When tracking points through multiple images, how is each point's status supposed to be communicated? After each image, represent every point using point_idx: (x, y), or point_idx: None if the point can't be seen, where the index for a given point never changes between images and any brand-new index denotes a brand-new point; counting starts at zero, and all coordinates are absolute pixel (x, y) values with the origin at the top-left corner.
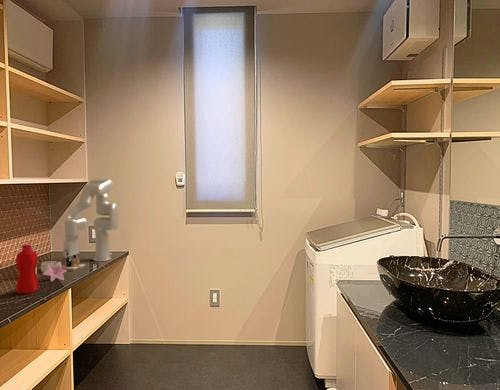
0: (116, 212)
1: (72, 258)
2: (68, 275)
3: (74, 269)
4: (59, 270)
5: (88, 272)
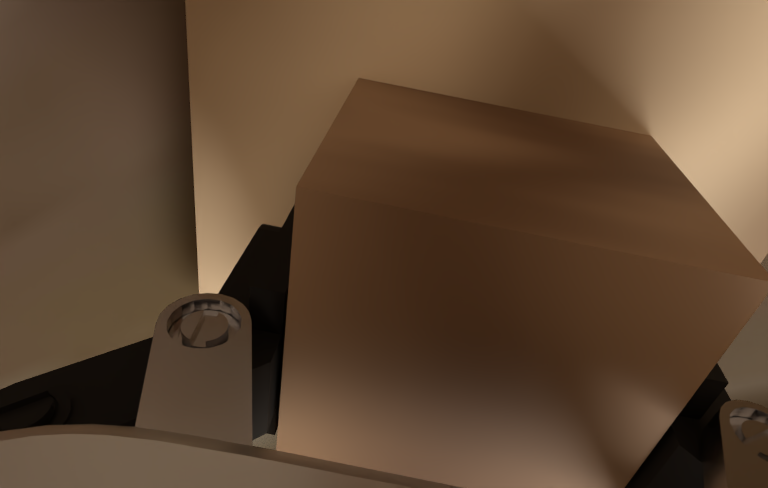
0: None
1: (554, 421)
2: (42, 302)
3: None
4: None
5: None
